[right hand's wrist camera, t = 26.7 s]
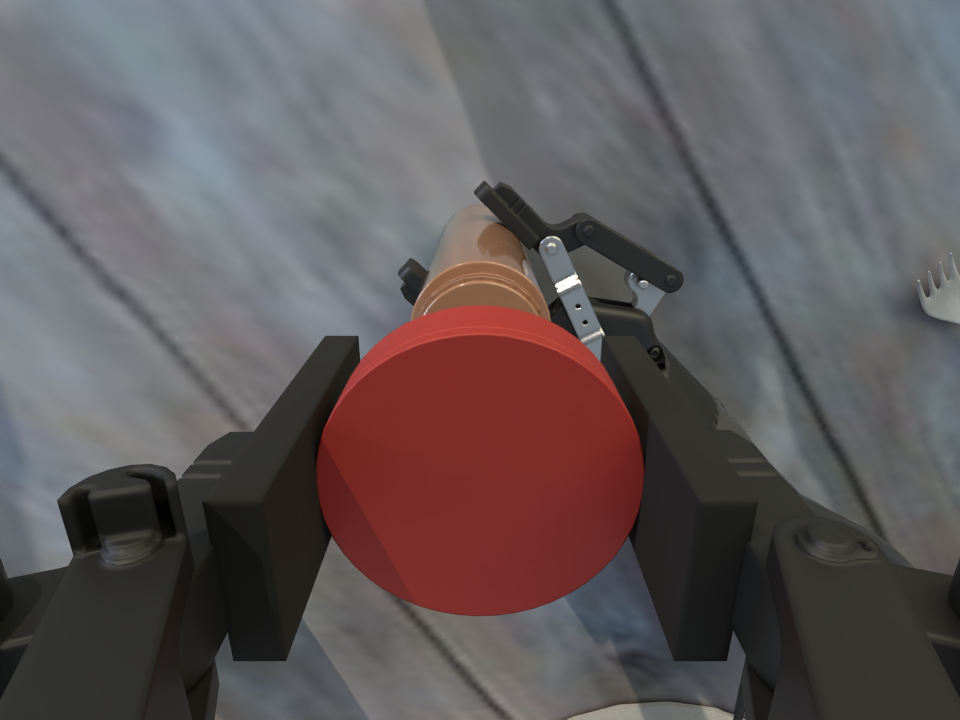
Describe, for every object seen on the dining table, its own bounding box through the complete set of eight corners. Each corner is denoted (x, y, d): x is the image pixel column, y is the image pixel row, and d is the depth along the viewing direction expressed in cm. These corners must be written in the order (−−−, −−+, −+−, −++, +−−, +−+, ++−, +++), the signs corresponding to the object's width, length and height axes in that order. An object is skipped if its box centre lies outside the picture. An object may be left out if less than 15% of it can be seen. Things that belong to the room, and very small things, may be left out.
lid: (280, 461, 12) (251, 509, 10) (455, 240, 10) (452, 259, 9) (499, 601, 13) (501, 662, 12) (685, 423, 12) (715, 467, 10)
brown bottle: (535, 252, 36) (586, 357, 19) (473, 298, 37) (468, 440, 20) (487, 188, 34) (494, 237, 17) (425, 238, 35) (373, 332, 18)
